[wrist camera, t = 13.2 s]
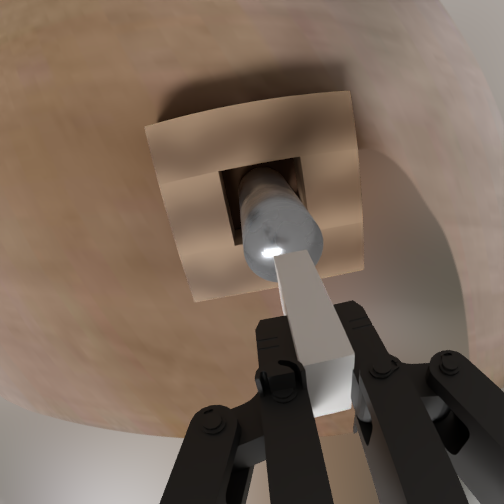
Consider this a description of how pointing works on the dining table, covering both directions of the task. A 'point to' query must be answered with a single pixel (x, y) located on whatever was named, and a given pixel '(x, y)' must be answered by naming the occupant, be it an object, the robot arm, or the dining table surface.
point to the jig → (248, 153)
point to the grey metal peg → (274, 222)
